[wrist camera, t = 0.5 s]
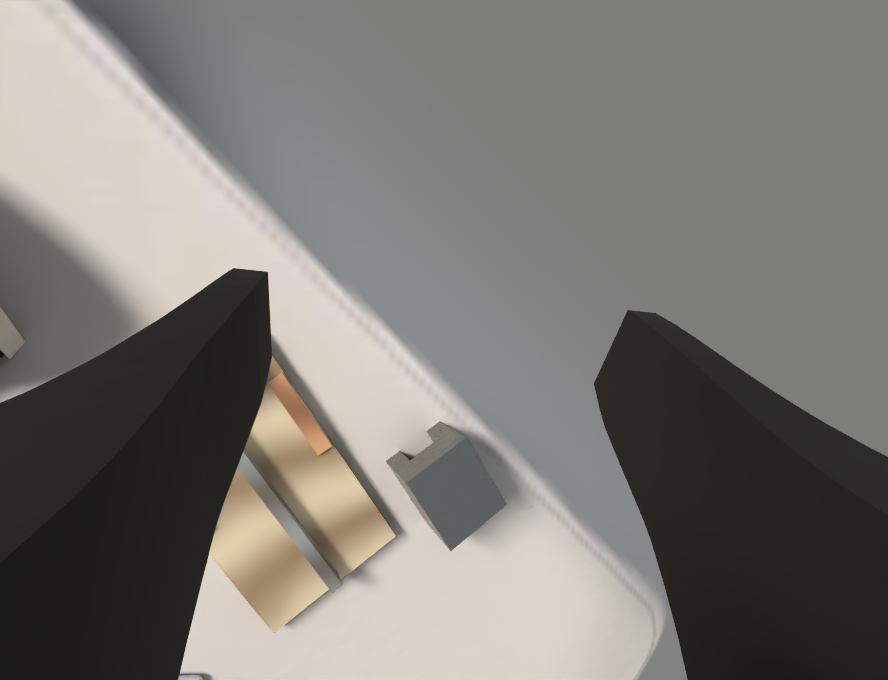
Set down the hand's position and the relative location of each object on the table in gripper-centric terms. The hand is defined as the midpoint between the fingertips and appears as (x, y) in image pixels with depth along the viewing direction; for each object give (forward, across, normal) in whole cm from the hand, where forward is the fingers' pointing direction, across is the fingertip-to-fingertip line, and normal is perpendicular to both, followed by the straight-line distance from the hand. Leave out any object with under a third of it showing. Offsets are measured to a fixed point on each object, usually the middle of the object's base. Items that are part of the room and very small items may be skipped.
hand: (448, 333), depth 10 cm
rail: (+14, +8, +24) cm, 28 cm away
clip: (+16, -4, +25) cm, 30 cm away
